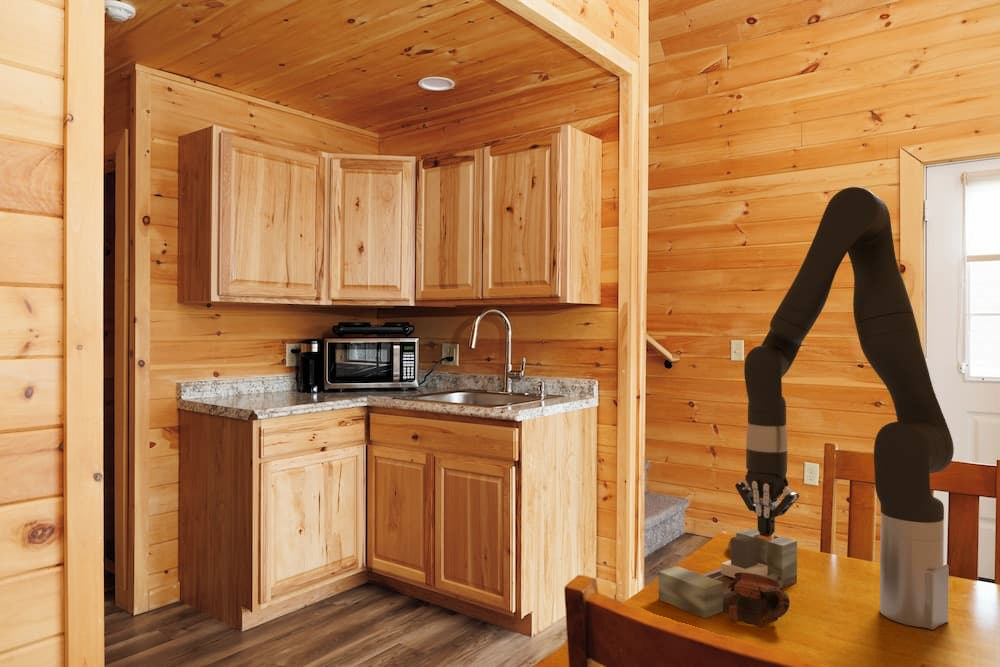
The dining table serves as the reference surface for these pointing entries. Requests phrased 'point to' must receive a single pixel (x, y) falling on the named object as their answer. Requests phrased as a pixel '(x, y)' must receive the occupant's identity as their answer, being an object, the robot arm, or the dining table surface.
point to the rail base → (726, 578)
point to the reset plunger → (766, 537)
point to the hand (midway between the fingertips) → (765, 535)
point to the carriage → (743, 557)
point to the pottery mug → (757, 599)
